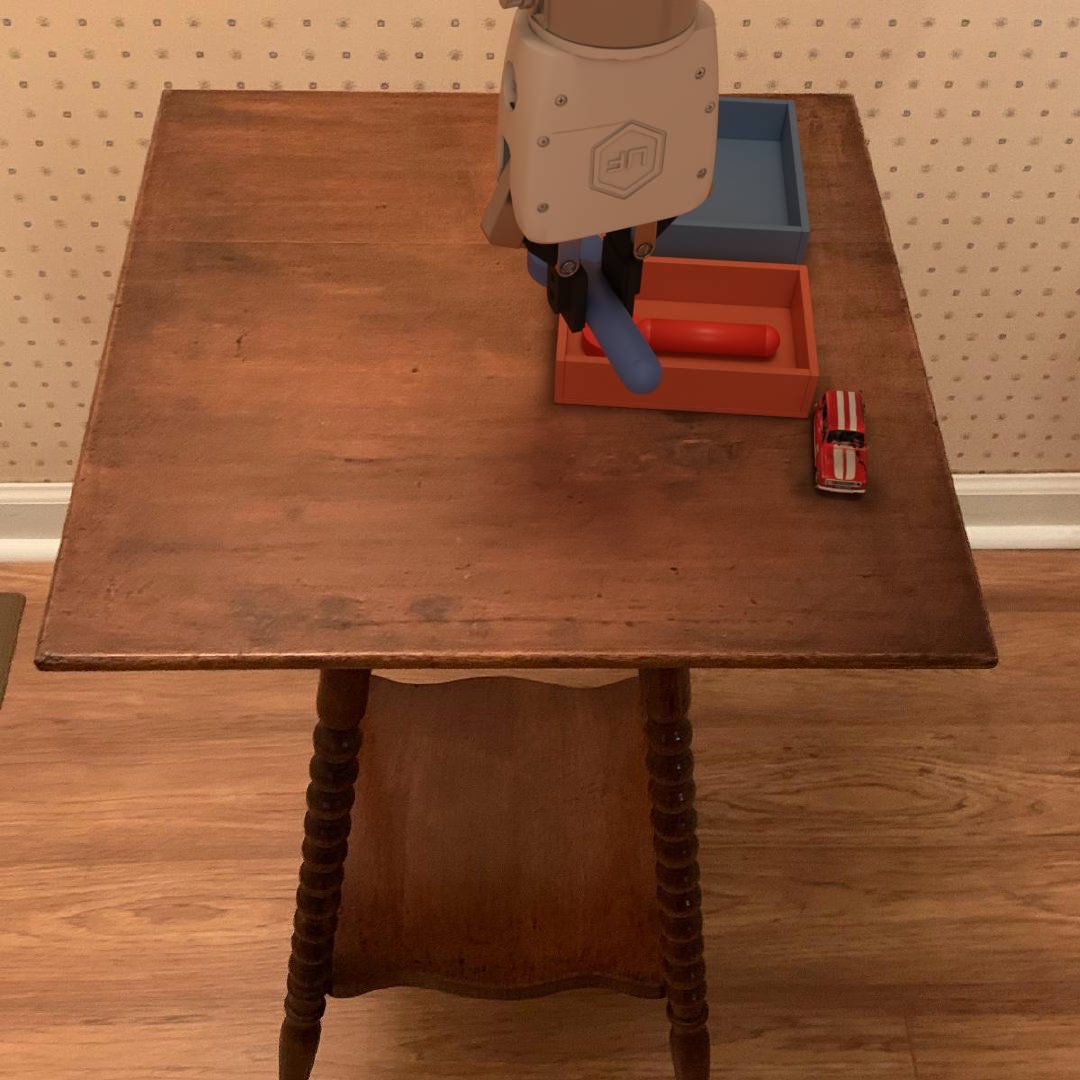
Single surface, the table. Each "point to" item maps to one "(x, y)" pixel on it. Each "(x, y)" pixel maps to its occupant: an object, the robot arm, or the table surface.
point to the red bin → (703, 377)
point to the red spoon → (698, 337)
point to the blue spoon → (610, 322)
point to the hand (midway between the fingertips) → (592, 308)
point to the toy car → (840, 442)
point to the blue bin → (748, 191)
